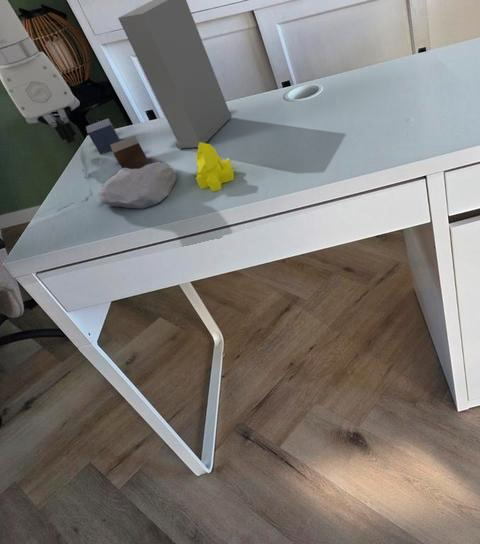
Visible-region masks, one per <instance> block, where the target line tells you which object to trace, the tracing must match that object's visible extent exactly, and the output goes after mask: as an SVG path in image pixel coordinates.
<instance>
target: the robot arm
mask: <svg viewBox="0 0 480 544" xmlns="http://www.w3.org/2000/svg"><path fill="white" fill-rule="evenodd" d="M0 82H1V83H2V86H3V87H4V88H5V90H6V92H7V94H8V96H9V97H10V99H11V100H12V101H13V103H14V105H15V107H16V108H17V110H18V111H19V113H20V114H21V115H22V116H23V117H24V119H25V121H26V122H25V123H27V124H29V125H33V124H39V123H41V124H45V125H47V126H50V127H52V128H54V129H55V131H56V132H57V135H58V136H59V137H60V139H61V140H62V141H66V142H67V144H71V143H72V142H73V143H75V142H76V141H77V139H76V136H77V135H78V134H77V132H76V130H75V129H74V127H73V125H72V124H71V122H70V117H71V113H72V111H74V110H75V109H76V108H79V107H80V105H81V103H80V100H79V99H78V98H77V97H76V96H75V95H74V94H73V92H72V90H71V88H70V86H69V85H68V83H67V81H66V80H65V78H64V77H63V76H62V74H61V73H60V71H59V70H58V69H57V67H56V66H55V64H54V62H52V60H51V59H50V58H49V57H48V56H47V55H46V54H45V52H44V51H40V50H39V49H38V47H37V46H36V44H35V43H34V41H33V40H32V38H31V36H30V34H29V33H28V31H27V29H26V28H25V26H24V25H23V23H22V22H21V20H20V18H19V17H18V15H17V13H16V12H15V10H14V8H13V7H12V5H11V3H10V2H9V0H0ZM56 111H57V113H58V115H59V118H60V121H59V120H58V119H57V118H55V116H54V115H53V114H52V113H53V112H56Z"/></svg>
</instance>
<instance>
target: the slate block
mask: <svg viewBox="0 0 480 544" xmlns="http://www.w3.org/2000/svg"><path fill="white" fill-rule="evenodd" d="M85 129H86V132H87V135H88V136H89V138H90V139H91V142H92V143H93V145H94V146H95V149H96V150H97V151H98V153H99V154H100V155H102V154H105V153H107V152H110V151H112V149H111V146H110V145H111V144H114V143H116V142H119V141H121V140H122V139H121V138H120V136H119V134H118V133H117V131H116V130H115V129H116V128H115V127H114V125H113V124H112V122H111V120H110V118H108V117H107V118H106V119H103V120H100V121H98V122H94V123H92V124H89V125H87V126H85Z"/></svg>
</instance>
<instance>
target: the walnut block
mask: <svg viewBox="0 0 480 544" xmlns="http://www.w3.org/2000/svg"><path fill="white" fill-rule="evenodd" d="M120 140H121V141H119V142H116V143H114V144H111V145H110V146H111V149H112V150H111V152H112V154H113V156H114V157H115V160H116V161H117V163H118V164H119V166H120V169H122V168H129V169H140V168H142V167H144V166H145V165H147V164H151V163H150V161H149V159H148V157H147V155H146V154H145V152H144V150H143V148H142V146H141V143H140V142H139V140H138V139H137V136H136V135H132V136H129V137H127V138H124V139H120Z"/></svg>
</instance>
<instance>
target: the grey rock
mask: <svg viewBox="0 0 480 544" xmlns="http://www.w3.org/2000/svg"><path fill="white" fill-rule="evenodd" d="M177 180H178V179H177V175H176V173H175V170H174V168H173V167H171V166H170V165H169V164H168V163H166V162H160V161H156V162H152V163H150V164H147V165H145V166H144V167H142V168H140V169H129V168H120V169H119V170H118V172H117V173H116V174H115V175H113V176H111V177H109V178H108V179H107V180H106V181H105V182H104V183H103V185H102V186H101V189H100V191H99V192H98V195H99V199H100V202H101V203H102V204H104V205H106V206H109V207H118V208H120V207H121V208H126V209H140V210H142V209H143V210H144V209H147V208H149V207H152V206H156V205H157V204H159V203H161V202H162V201H163V200H164V199H166V198H167V197H168V196H169V195H170V193H171V191H172V189H173V188H174V186H175V183H176V182H177Z"/></svg>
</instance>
